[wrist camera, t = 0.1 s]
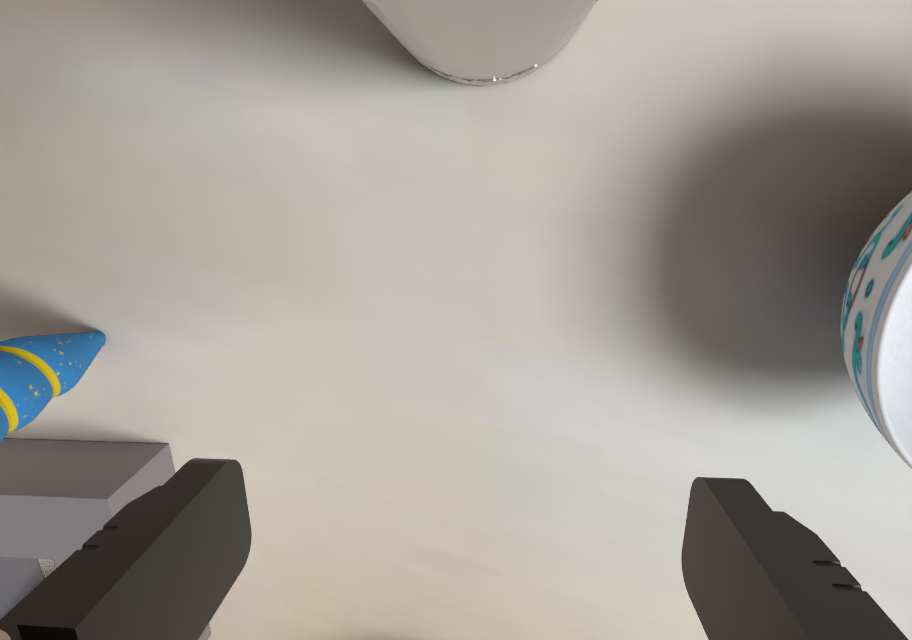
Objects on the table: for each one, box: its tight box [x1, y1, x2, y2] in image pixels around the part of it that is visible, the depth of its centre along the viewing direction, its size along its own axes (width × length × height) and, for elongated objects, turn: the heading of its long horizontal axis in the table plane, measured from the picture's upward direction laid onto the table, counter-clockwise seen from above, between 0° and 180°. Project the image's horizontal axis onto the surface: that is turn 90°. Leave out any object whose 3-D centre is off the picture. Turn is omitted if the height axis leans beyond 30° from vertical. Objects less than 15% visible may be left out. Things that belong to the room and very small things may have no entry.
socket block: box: [0, 438, 211, 640], centre depth 31 cm, size 15×15×5 cm
